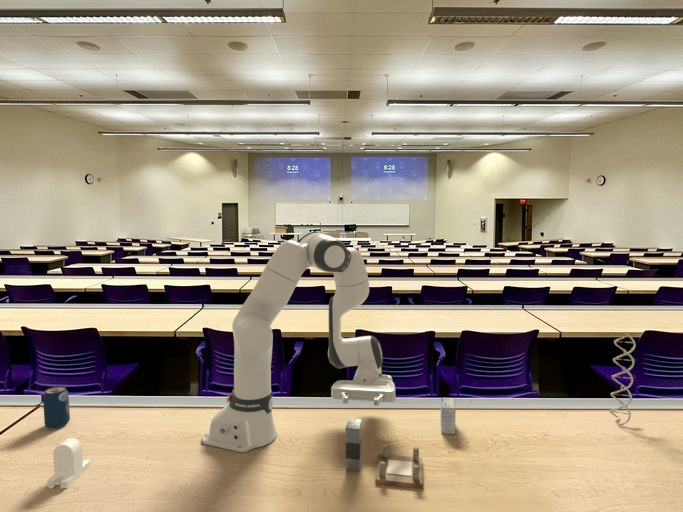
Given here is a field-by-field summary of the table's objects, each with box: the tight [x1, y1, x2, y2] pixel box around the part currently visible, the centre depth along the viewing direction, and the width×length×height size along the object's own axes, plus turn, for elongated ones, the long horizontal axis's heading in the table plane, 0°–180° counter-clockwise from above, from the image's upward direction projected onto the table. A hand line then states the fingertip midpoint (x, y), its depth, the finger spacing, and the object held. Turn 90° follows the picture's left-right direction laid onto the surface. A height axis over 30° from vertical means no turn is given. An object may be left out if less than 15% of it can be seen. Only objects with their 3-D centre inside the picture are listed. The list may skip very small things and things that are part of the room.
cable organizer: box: [47, 437, 91, 489], centre depth 113 cm, size 5×10×10 cm, turn 178°
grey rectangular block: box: [345, 418, 363, 473], centre depth 117 cm, size 4×5×13 cm
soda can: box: [42, 385, 71, 429], centre depth 141 cm, size 7×7×12 cm
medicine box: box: [440, 397, 457, 435], centre depth 139 cm, size 8×4×9 cm, turn 168°
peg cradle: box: [374, 443, 424, 489], centre depth 115 cm, size 12×12×5 cm
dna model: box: [609, 332, 637, 426], centre depth 142 cm, size 7×6×30 cm
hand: (360, 402), depth 128 cm, fingers open, 8 cm apart
